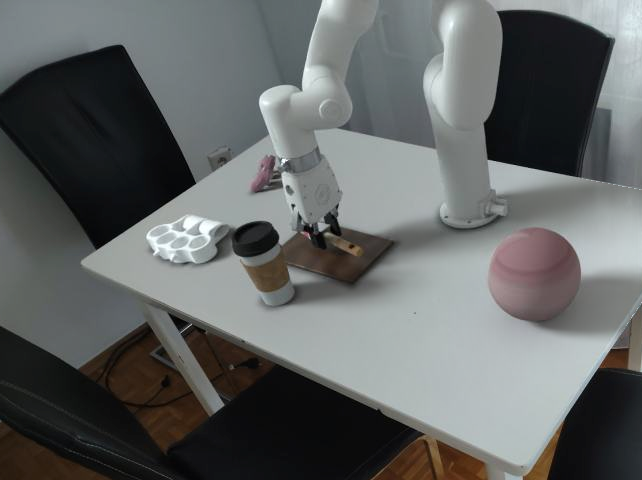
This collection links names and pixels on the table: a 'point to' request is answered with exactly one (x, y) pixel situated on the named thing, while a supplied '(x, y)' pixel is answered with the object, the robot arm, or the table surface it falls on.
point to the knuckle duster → (187, 239)
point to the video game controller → (264, 173)
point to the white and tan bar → (336, 240)
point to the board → (336, 255)
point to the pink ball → (534, 274)
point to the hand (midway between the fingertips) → (327, 240)
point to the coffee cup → (263, 261)
